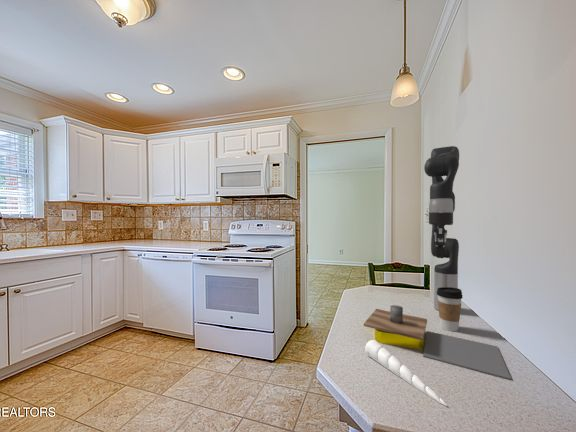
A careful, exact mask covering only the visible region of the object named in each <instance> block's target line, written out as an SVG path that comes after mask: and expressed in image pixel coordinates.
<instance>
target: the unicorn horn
mask: <svg viewBox="0 0 576 432" xmlns="http://www.w3.org/2000/svg"><path fill="white" fill-rule="evenodd" d="M364 350H365V354H366V355H367V356H368V357H369V358H371V359H372V360H374V361H375V362H377V363H378V364H380V365H381V366H382V367H383V368H385V369H386V370H388V371H390V372H391V373H393V374H394V375H396V376H397V377H398V378H400V379H402V380H403V381H405V382H406V383H407V384H409V385H410V386H412V387H414V388H415V389H417V390H418V391H420V392H421V393H423V394H424V395H426V396H428V397H429V398H431V399H432V400H434V401H435V402H437V403H439V404H441V405H442V406H445V407H448V405H447V403H446V402H445V401H444V400H443V399H442V397H439V395H438V394H437V393H436V392H435V391H433V390H432V388H430V387H429V386H428V385H426V383H425V382H424V381H423V380H422V379H421V378H419V377H418V376H417V375H416V374H414V372H413V371H411V370H410V369H409V367H407V366H406V365H405V364H403V362H401V361H400V360H399V359H398V358H397V357H396V356H395V355H393V354H392V353H391V352H390V351H389V350H388V349H387V348H385V347H384V346H383V345H382V343H379V342H377V341H376V340H375V339H371V340H369V341H367V343H366V344H365V347H364Z"/></svg>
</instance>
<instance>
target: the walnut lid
mask: <svg viewBox="0 0 576 432" xmlns="http://www.w3.org/2000/svg"><path fill="white" fill-rule="evenodd" d="M427 324H428V318H424V317H418V316H414V315H409V314H404V308H403V306H401V305H397V304H396V305H395V304H392V305H390V311H389V310H385V309H380V308H376V309H375V310H374V311H373V312H372V313H371V314H370V315H369V317H368V318H367V319H366V320H365V321H364V323H363V327H365V328H369V329H378V330H382V331H386V332H390V333H394V334H398V335H402V336H406V337H410V338H414V339H418V340H422V341H423V338H424V339H425V332H426V328H427Z"/></svg>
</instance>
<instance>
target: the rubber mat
mask: <svg viewBox="0 0 576 432" xmlns="http://www.w3.org/2000/svg"><path fill="white" fill-rule="evenodd" d="M422 357H423V358H427V359H431V360H433V361H438V362H442V363H446V364H449V365H453V366H457V367H460V368H465V369H467V370H471V371H475V372H479V373H483V374H487V375H491V376H494V377H497V378H502V379H506V380H510V381H512V377H511V375H510V373H509V371H508V368H507V366H506V364H505V361H504V359H503V357H502V355H501V352H500V350H499V348H498V346H497V345H494V344H493V345H492V344H488V343H483V342H479V341H474V340H469V339H465V338H460V337H455V336H452V335H448V334H442V333H438V332H434V331H428V330H426V334H425V339H424V348H423V354H422Z"/></svg>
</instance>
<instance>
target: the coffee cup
mask: <svg viewBox="0 0 576 432" xmlns="http://www.w3.org/2000/svg"><path fill="white" fill-rule="evenodd" d="M462 291H463V290H462V289H461V288H452V287H440V288H438V289H437V295H438V309H439V310H438V316H439V327H440V328H441V329H443V330H446V331H449V332H458V331H459V329H460V328H459V325H460V317H461V311H462V299H463V292H462Z"/></svg>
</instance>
